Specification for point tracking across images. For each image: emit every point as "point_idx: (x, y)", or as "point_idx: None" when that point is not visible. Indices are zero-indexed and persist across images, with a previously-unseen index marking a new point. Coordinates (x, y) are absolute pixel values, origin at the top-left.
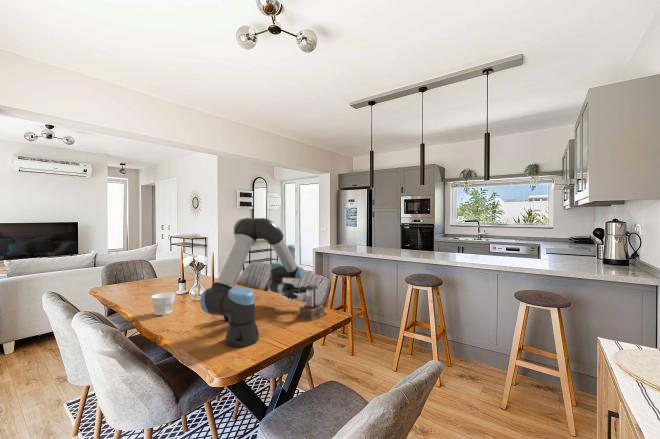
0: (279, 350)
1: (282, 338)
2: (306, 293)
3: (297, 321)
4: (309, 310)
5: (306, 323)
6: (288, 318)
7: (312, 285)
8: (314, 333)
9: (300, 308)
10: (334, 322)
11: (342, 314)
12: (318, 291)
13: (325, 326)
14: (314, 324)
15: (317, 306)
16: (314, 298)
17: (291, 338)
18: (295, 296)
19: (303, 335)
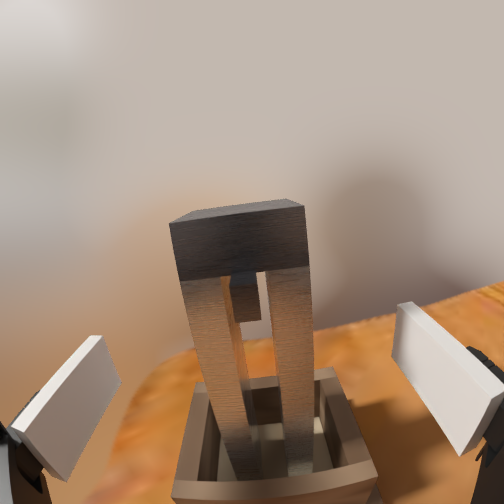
0: (496, 284)
1: (498, 315)
2: (312, 328)
3: (425, 424)
4: (339, 388)
5: (388, 385)
6: (465, 488)
7: (233, 207)
8: (395, 315)
9: (371, 473)
10: (267, 345)
11: (156, 374)
12: (105, 347)
13: (327, 336)
14: (357, 364)
15: (208, 429)
16: (243, 353)
17: (472, 311)
18: (474, 355)
19: (434, 315)
